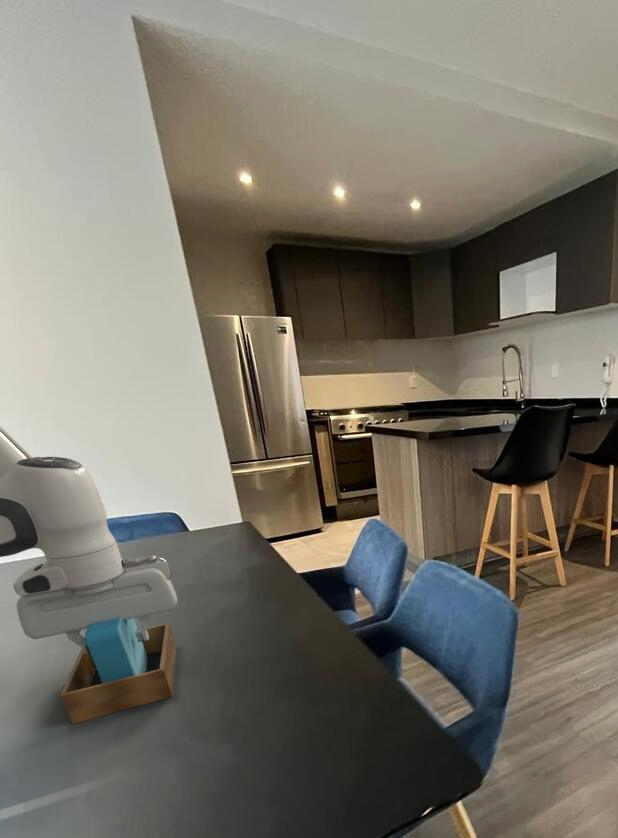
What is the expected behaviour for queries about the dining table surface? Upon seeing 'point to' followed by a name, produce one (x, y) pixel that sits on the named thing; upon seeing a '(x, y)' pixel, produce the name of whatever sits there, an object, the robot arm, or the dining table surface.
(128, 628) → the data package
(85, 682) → the wooden box
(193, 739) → the dining table surface
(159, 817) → the dining table surface
